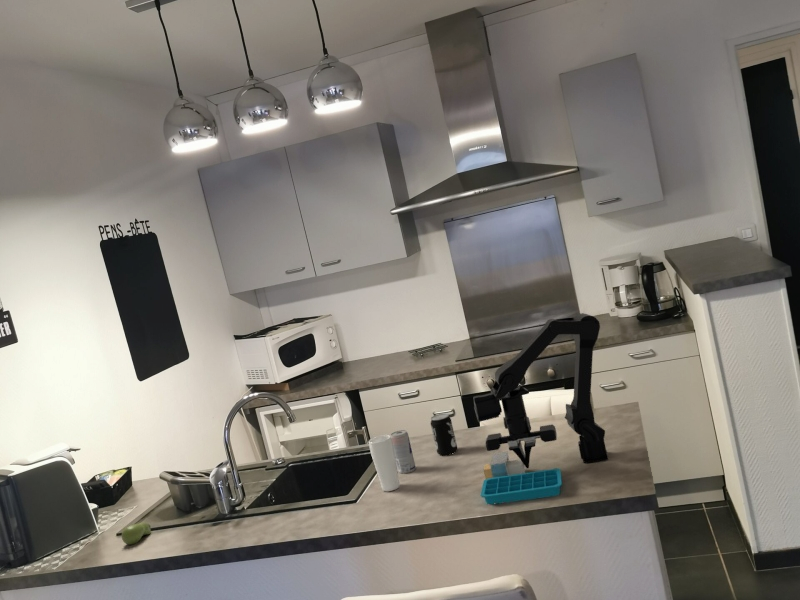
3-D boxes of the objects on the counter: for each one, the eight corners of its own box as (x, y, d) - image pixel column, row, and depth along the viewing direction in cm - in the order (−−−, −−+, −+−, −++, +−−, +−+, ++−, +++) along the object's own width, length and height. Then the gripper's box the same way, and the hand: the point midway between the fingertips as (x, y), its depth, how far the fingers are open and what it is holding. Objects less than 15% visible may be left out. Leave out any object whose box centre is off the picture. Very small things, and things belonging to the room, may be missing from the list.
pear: (116, 529, 206) (138, 519, 216) (119, 547, 206) (141, 537, 215) (132, 527, 205) (153, 517, 214) (134, 545, 204) (156, 535, 214)
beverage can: (450, 456, 219) (442, 419, 218) (433, 456, 224) (425, 420, 222) (461, 448, 225) (453, 412, 224) (444, 448, 229) (436, 413, 228)
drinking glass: (375, 493, 203) (363, 443, 201) (386, 483, 209) (375, 435, 207) (396, 493, 200) (384, 442, 198) (406, 483, 205) (395, 433, 204)
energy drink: (416, 465, 219) (408, 428, 217) (415, 471, 213) (406, 434, 212) (399, 468, 219) (391, 432, 218) (398, 475, 214) (389, 437, 213)
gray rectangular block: (511, 469, 197) (507, 451, 196) (509, 482, 188) (504, 463, 188) (497, 471, 198) (493, 453, 197) (494, 484, 189) (490, 465, 189)
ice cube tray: (564, 497, 172) (561, 485, 172) (482, 508, 177) (480, 497, 176) (562, 478, 184) (560, 467, 183) (486, 489, 188) (483, 479, 188)
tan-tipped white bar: (525, 471, 194) (522, 459, 193) (524, 476, 190) (522, 464, 189) (487, 476, 196) (485, 464, 196) (486, 482, 192) (483, 469, 192)
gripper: (550, 398, 195) (562, 452, 197) (484, 409, 200) (496, 462, 201) (549, 410, 184) (562, 466, 186) (479, 422, 189) (493, 477, 190)
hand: (527, 467), depth 191 cm, fingers closed
